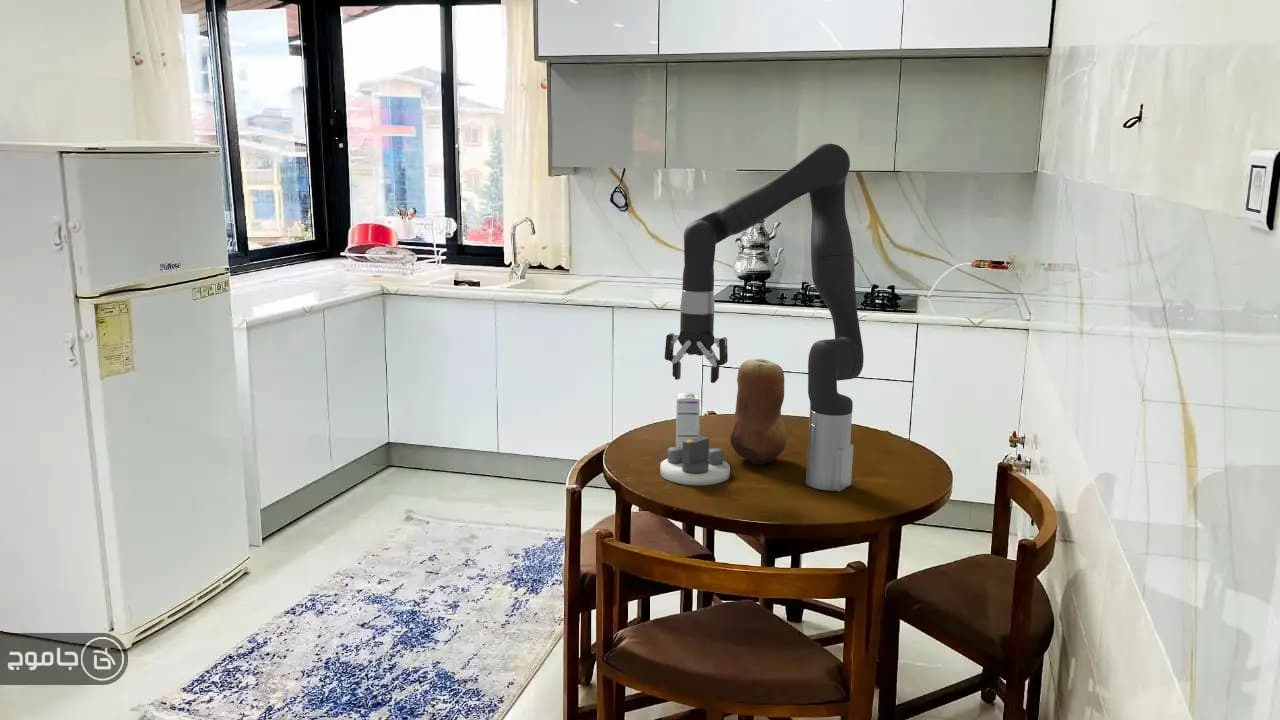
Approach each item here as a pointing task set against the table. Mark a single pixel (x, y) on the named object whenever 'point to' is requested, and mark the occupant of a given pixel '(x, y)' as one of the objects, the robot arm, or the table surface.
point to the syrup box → (687, 417)
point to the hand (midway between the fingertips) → (695, 380)
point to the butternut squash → (759, 412)
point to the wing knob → (695, 455)
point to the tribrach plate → (715, 474)
